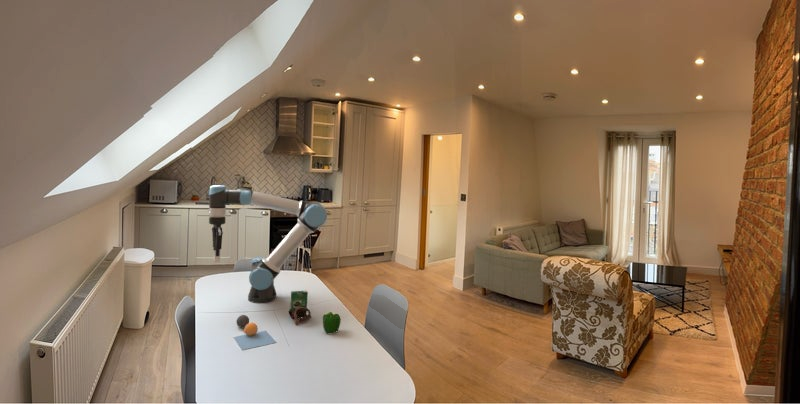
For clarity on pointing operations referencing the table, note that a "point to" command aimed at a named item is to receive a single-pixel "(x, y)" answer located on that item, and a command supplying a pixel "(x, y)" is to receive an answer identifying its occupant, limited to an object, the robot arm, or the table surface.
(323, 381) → the table surface
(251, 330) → the orange ball
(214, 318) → the table surface
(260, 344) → the blue mark
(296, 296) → the coffee box
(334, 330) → the bell pepper
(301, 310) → the pottery mug
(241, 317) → the black ball
